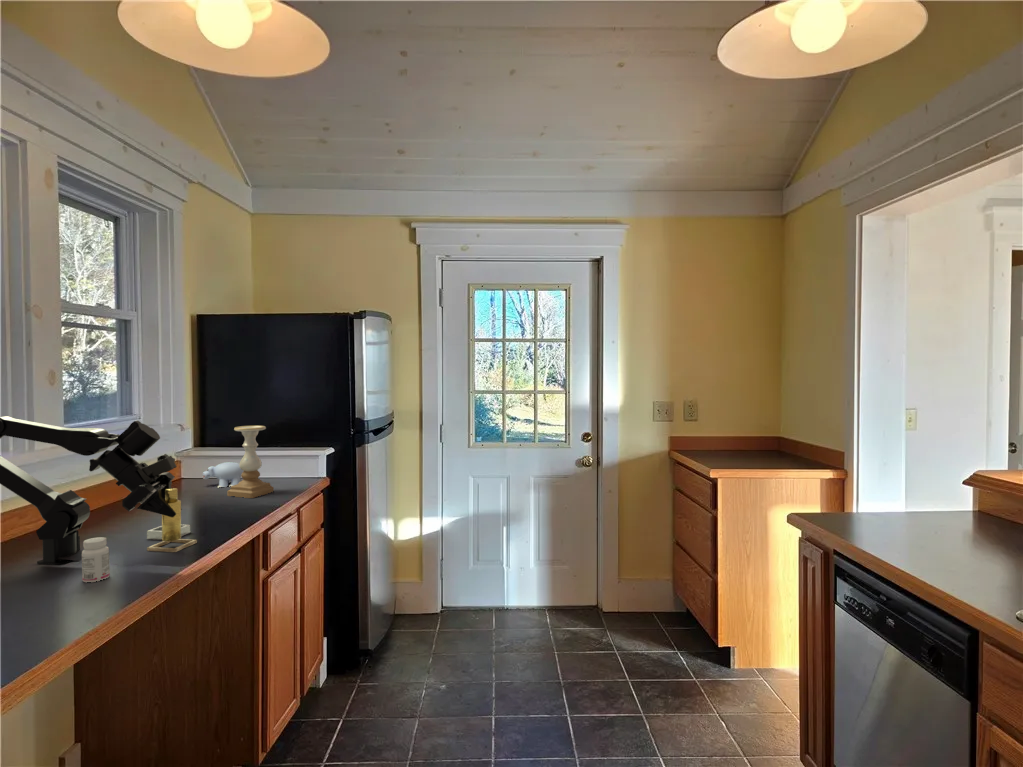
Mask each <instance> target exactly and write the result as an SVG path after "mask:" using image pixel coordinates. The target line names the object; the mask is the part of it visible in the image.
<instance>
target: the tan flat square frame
mask: <svg viewBox="0 0 1023 767" xmlns="http://www.w3.org/2000/svg"><path fill="white" fill-rule="evenodd" d="M197 542H198V539H190V538H180V539H178V540H174V541H162V540H161V541H160V542H158V543H155V544H152V545H150V546H148V547H146V551H147V552H164V553H165V552H167V553H177V552H179V551H181V550H184V549H186V548H188V547H190V546H193V545H195V544H197ZM169 543H178V544H179V543H180V544H181V545H179V546H176V547H163V546H165V545H167V544H169Z"/></svg>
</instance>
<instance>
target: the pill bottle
mask: <svg viewBox="0 0 1023 767" xmlns="http://www.w3.org/2000/svg"><path fill="white" fill-rule="evenodd" d="M107 540H108V539H107V537H103V536H102V537H101V536H100V537H97V536H96V537H92V538H87V539H85V540H83V542H82V545H83V550H82V551H81V578H82V582H84V583H87V582H91V583H95V582H96V581H97V582H101V581H100V580H102V581H104V580H103V579H105V580H106V578H107V579H109V577H110V576H111V574H110V570H111V568H110V567H111V566H110V549H109V546H107V544H108V542H107ZM97 582H96V583H97Z"/></svg>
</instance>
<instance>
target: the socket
mask: <svg viewBox="0 0 1023 767" xmlns="http://www.w3.org/2000/svg"><path fill="white" fill-rule="evenodd" d="M191 532H192V531H191V525H190V524H184V523H183V524H182V523H181V537H183V536H185V535H189V534H190V533H191ZM146 540H159V541H162V525H160V526H157V527H154V528H151V529H149V530H146Z"/></svg>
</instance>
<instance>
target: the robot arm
mask: <svg viewBox="0 0 1023 767" xmlns="http://www.w3.org/2000/svg"><path fill="white" fill-rule="evenodd" d="M4 437H10V438H17V439H22V440H28V441H32V442H33V441H34V442H38V443H39V442H40V443H44V444H49V445H56V446H59V447H61V448H63V449H65V450H67V451H69V452H72V453H74V454H78V455H81V456H85V457H86V456H87V457H89V456H93V455H96V454H99V453H102V452H103V453H102V454H100V455H99V456H98V457H97V458H96V457H94V458H92V459H89V469H88V471H89V472H94V471H96V470H99V469H100V468H101V469H103V470H104V471H105V472H106V473H107V474H108V475H110V476H111V477H112V478H114V479H115V480H116V481H117V482H115V485H117V487H121V486H123V487H124V488H126V490H128V491H129V492H130V493H129V494H128V495H127V496H126V497H125V498H124V499H122V502H121V506H122V508H124V509H125V510H126V511H128V512H130V511H132V510H134V509H135V508H136V506H137V505H138V504H139V503H140V505H138V507H137V508H136V509H137V510H143V511H146V512H151V513H155V514H159V515H161V516H162V515H165V516H169V517H174V516H175V515H176V513H175V511H174V510H173V509H172V508H171V507H170V505H169V504H168V503H167V502H166V501H165V490H166V489H172V484H173V480H174V479H175V478H176V477H175V475H174V474H172V473H171V472H169V471H172V470H174V469H176V468H177V464H176V463H175V461H176V458H174V457H173V456H172V455H168V454H167V453H165V454H162V455H160V456H157V458H156V460H157V461H156V462H153V463H150V464H149V465H148V464H147V463H146V462H140V463H139V462H138V461H137V460H136V459H134V457H135V456H138V457H141V456H143V455H144V454H145V453H146V452H147V451H148V450H149V449H150V448H152V447H153V446H154V445H155V444H156V443H157V442H158V441H159V440H160V439H161V436H160V434H159V433H158V431H156V430H155V429H154V428H152V427H150V426H148V425H147V424H145V423H143V422H141V421H140V420H134V421H132V422H131V423H130V424H129V425H128V427H127V428H125V430H124V431H123V432H121V433H120V434H119V433H118V434H116V433H109V432H108V431H107V430H106V429H104V428H100V427H99V428H97V427H96V428H94V427H92V428H91V427H89V428H88V427H75V428H73V427H72V428H71V427H63V426H59V425H58V426H57V425H53V424H46V423H41V422H36V421H30V420H25V419H20V418H19V419H18V418H14V417H11V416H8V415H4V416H0V439H2V438H4ZM116 445H117V446H116ZM113 446H115V447H114V448H112V450H109V447H113ZM0 485H1V486H2V487H4V488H6V489H8V490H9V491H11V492H12V493H13V494H15V495H17V496H19V497H20V498H22V499H23V500H25V501H26V502H28V503H29V504H31V505H33V507H35V508H36V509H37V510H38V512H39V515H40V516H41V518H42V519H43V520H44V521H45V522H44V523H43V524H42V525H41V526H40V527H39V528H38V529H37V530H36V532H35V533H36V535H37V537H38V540H40V541H42V559H40V560H38V561H36V563H37V565H55V566H56V565H57V566H61V565H65V564H67V563H71V562H73V561H74V559H66V557H70V556H72V555H75V554H77V552H79V551H81V538H80V537H81V536H80V534H79V530H80V529H81V528H82V526H83V524H84V522H85V521H86V520H88V519H89V518H90V514H91V507H90V504H88V503H87V502H86V500H87V498H85V497H81V496H80V495H78V494H77V493H76V492H75V491H74V490H71V489H69V490H67V491H64V492H57V491H55V490H54V489H52V488H51V487H49V486H47V485H46V484H44V483H43V482H41V481H40V480H38V479H37V478H36V477H34V476H32V475H31V474H30V473H28V472H27V471H25V470H23V469H22V468H20V467H18V466H17V465H16V464H14V463H12V462H11V461H10V460H8V459H7V458H5V457H3V456H1V455H0ZM182 510H183V508H182V507H181V511H182ZM62 558H63V559H62Z"/></svg>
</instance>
